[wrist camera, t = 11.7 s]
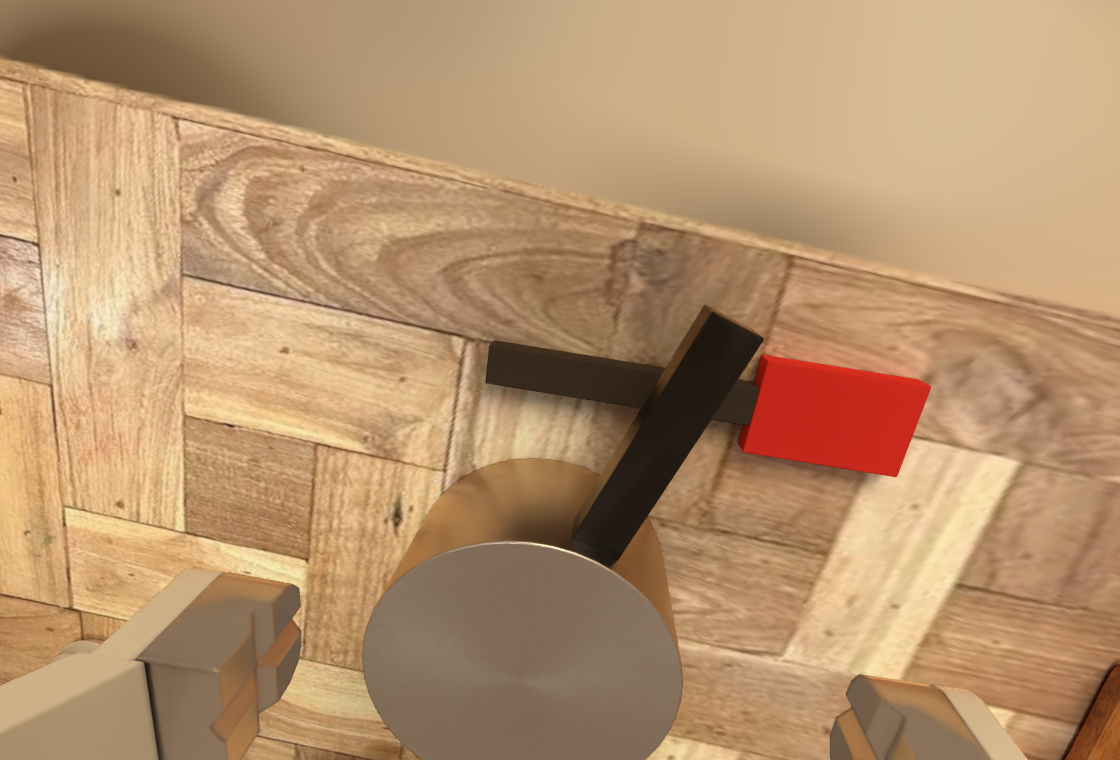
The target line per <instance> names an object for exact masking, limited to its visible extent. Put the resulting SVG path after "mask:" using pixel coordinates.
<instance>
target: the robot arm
mask: <svg viewBox="0 0 1120 760" xmlns="http://www.w3.org/2000/svg"><path fill="white" fill-rule="evenodd" d="M300 607H301V605H300V592H299V588H298V587H297V586H295V585H293V584H289V583H284V582H279V581H273V580H268V579H263V578H257V577H252V576H246V575H241V574H236V573H230V572H228V573H225V572H220V571H215V570H210V569H205V568H200V567H193V568H190V569H188V570H185V571H183V572H182V573H180V574H179V575H178V576H177V577H176V578H175V579H174V580H172V581H171V582H170V583H169V584H168V585H167V586H166V587H165V588H163V589H162V590H161V591H160V592H159V593H158V594H157V595H156V596H154V597H153V598H152V599H151V600H150V601H149V602H148V603H147V604H145V605H144V606H143V607H142V608H141V609H140V610H139V611H138V612H137V613H135V614H134V615H133V616H132V617H131V618H130V619H129V620H128V621H126V622H125V623H124V624H123V625H122V626H121V627H120V628H119V629H117V630H116V631H115V632H114V633H113V634H112V635H111V636H110V637H108V638H107V639H106V640H105V641H104V642H103V643H102V644H101V645H99V646H98V647H97V648H96V649H95V650H94V651H93V652H92V653H86V652H77V653H75V654H72V655H70V656H68V657H65V658H63V659H61V660H58V661H56V662H54V663H51V664H49V665H47V666H44V667H42V668H39V669H37V670H35V671H32V672H30V673H28V674H25V675H23V676H21V677H18V678H16V679H14V680H11V681H9V682H7V683H4V684H2V685H0V760H241V759H242V758H243V756H244V755H245V753H246V751H247V750H248V748H249V747H250V745H251V744H252V742H253V741H254V739H255V737H256V736H257V734H258V733H259V713H261V712H262V711H264V710H266V709H267V708H269V707H270V706H272V705H273V704H275V703H277V702H278V701H279V700H280V698H281V696H282V695H283V693H284V691H285V690H286V688H287V687H288V685H289V683H290V681H291V679H292V676H293V674H294V671H295V668H296V666H297V663H298V661H299V655H300V650H301V630H300V628H299V627H298V626H297V625H296V623H295V622H294V621H293V619H292V618H293V616H294V615H295V614H296V612H297V611H298V609H299V608H300ZM846 696H847V698H848V700H849V702H850V704H851V708H849V709H848V710H846V711H845V712H843V713H842V714H840V715H839V716H837V717H836V719H835V722H834V725H833V728H832V731H831V733H830V759H831V760H1028V759H1027V758H1026V757H1025V755H1024V754H1023V753H1022V752H1021V750H1020V749H1019V748H1018V746H1017V745H1016V744H1015V742H1014V741H1013V740H1012V739H1011V737H1010V736H1009V735H1008V733H1007V732H1006V731H1005V729H1004V728H1003V727H1002V726H1001V724H1000V723H999V722H998V720H997V719H996V718H995V716H994V715H993V714H992V713H991V711H990V710H989V709H988V707H987V706H986V705H985V703H984V702H983V701H982V700H981V699H980V698H979V697H978V696H976V695H975V694H974V693H972V692H971V691H969V690H965V689H958V688H951V687H944V686H937V685H926V684H922V683H915V682H908V681H902V680H895V679H888V678H882V677H875V676H868V675H862V674H859V675H858V676H856V677H855V678H854V679H853V680H851V683H850V685H849V687H848V690H847V692H846Z"/></svg>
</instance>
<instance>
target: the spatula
mask: <svg viewBox="0 0 1120 760" xmlns="http://www.w3.org/2000/svg"><path fill="white" fill-rule="evenodd" d="M665 369H666V368H663V367H657V366H650V365H644V364H638V363H632V362H625V361H619V360H613V359H607V358H600V357H594V356H588V355H582V354H575V353H569V352H563V351H557V350H550V349H544V348H538V347H532V346H525V345H519V344H513V343H507V342H500V341H493V342H492V343H491V345H490V346H489V354H488V363H487V373H486V383H488V384H494V385H501V386H507V387H513V388H519V389H525V390H531V391H538V392H544V393H550V394H556V395H562V396H568V397H575V398H581V399H587V400H593V401H599V402H605V403H612V404H618V405H624V406H630V407H636V408H642V407H643V405H644V403H645V402H646V400H647V398H648V397H649V395H650V393H651V392H652V390H653V388H654V387H655V385H656V383H657V382H658V380H659V379H660V377H661V375H662V374H663V372H664V370H665ZM930 389H931V386H929V385H928V384H926V383H924V382H922V381H920V380H918V379H912V378H905V377H899V376H893V375H887V374H880V373H874V372H868V371H861V370H855V369H849V368H842V367H836V366H830V365H824V364H817V363H811V362H805V361H798V360H792V359H786V358H780V357H773V356H767V355H762V356H761V360H760V364H759V367H758V371H757V375H756V378H755V382H750V381H744V380H737V381H736V383H735V384H734V386H733V387H732V389H731V390H730V392H729V393H728V395H727V396H726V398H725V399H724V401H723V403H722V404H721V406H720V407H719V409H718V410H717V412H716V413H715V415H714V416H713V418H712V419H711V420H716V421H723V422H729V423H735V424H741V425H743V426H742V430H741V434H740V437H739V441H738V444H739V446H740V448H741V450H742V451H743V452H745V453H751V454H758V455H764V456H770V457H776V458H782V459H788V460H794V461H800V462H806V463H813V464H819V465H825V466H831V467H837V468H843V469H849V470H855V471H862V472H868V473H874V474H880V475H886V476H892V477H897V475H898V473H899V470H900V468H901V465H902V462H903V460H904V457H905V454H906V452H907V449H908V447H909V444H910V441H911V439H912V436H913V433H914V431H915V428H916V426H917V423H918V420H919V418H920V415H921V412H922V410H923V407H924V405H925V402H926V399H927V397H928V394H929V391H930Z"/></svg>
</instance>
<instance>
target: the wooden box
mask: <svg viewBox="0 0 1120 760" xmlns="http://www.w3.org/2000/svg"><path fill="white" fill-rule="evenodd" d="M1065 760H1120V664H1119V665H1118V666H1116V667H1115V668H1114V669H1113V671H1112V672H1111V673H1110V675H1109V676H1108V678H1107V680H1106V682H1105V684H1104V686H1103V687H1102V689H1101V691H1100V693H1099V695H1098V697H1097V699H1096V701H1095V704H1094V706H1093V708H1092V710H1091V712H1090V714H1089V716H1088V718H1087V719H1086V721H1085V723H1084V725H1083V727H1082V729H1081V731H1080V733H1079V735H1078V736H1077V738H1076V740H1075V742H1074V744H1073V746H1072V748H1071V750H1070V752H1069V754H1068V755H1067V757H1066V759H1065Z"/></svg>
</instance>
